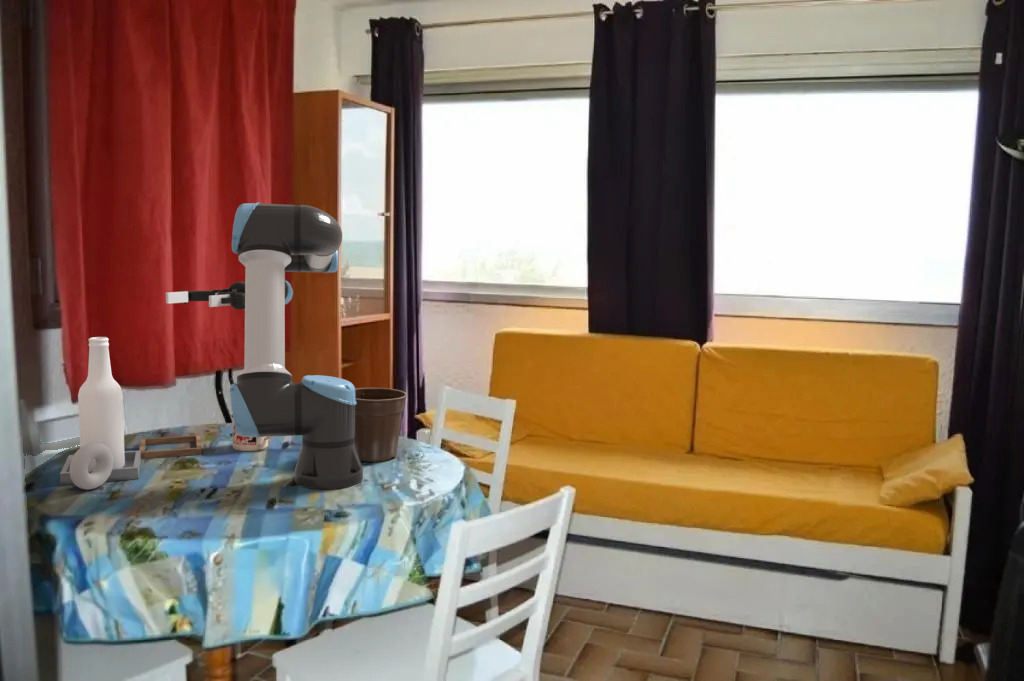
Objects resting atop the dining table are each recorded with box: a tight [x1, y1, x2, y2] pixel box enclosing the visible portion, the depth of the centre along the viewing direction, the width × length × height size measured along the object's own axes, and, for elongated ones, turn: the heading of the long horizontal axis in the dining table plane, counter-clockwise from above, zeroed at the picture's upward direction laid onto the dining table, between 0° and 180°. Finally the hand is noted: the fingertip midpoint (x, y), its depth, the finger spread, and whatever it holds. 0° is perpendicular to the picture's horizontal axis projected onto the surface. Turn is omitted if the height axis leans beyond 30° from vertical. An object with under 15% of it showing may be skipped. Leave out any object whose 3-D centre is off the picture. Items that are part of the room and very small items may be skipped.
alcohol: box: [77, 336, 125, 470], centre depth 174 cm, size 9×9×30 cm
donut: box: [69, 442, 113, 491], centre depth 164 cm, size 10×4×10 cm, turn 161°
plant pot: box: [355, 387, 408, 463], centre depth 195 cm, size 16×16×16 cm
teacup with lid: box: [231, 413, 276, 452], centre depth 199 cm, size 12×9×12 cm
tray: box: [59, 450, 142, 486], centre depth 175 cm, size 15×15×2 cm
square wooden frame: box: [139, 434, 203, 460], centre depth 196 cm, size 14×14×2 cm
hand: (188, 299), depth 190 cm, fingers open, 13 cm apart
